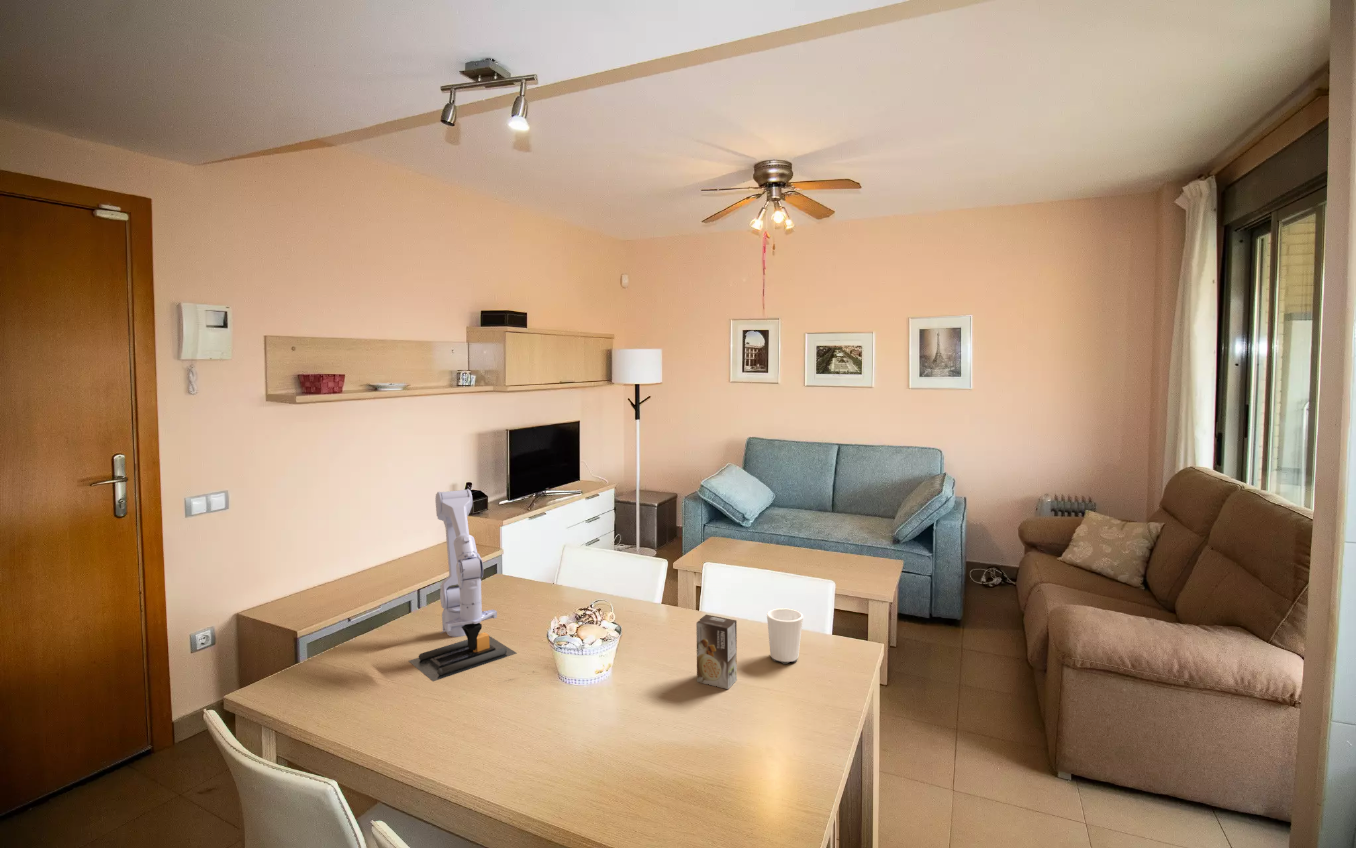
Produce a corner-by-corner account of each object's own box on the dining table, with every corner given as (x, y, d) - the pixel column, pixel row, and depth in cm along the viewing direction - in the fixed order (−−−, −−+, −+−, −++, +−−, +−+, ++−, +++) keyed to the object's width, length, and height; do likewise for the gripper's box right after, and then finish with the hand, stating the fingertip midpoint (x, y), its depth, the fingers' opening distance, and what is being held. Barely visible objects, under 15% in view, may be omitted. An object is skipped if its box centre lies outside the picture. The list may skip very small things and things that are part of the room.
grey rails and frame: (417, 659, 184) (417, 653, 184) (484, 639, 197) (484, 633, 197) (439, 677, 174) (438, 670, 174) (508, 654, 187) (508, 648, 187)
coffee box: (737, 679, 176) (738, 620, 174) (728, 690, 170) (728, 628, 169) (706, 672, 180) (706, 613, 178) (695, 682, 174) (695, 622, 173)
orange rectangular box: (473, 651, 189) (472, 635, 189) (484, 647, 192) (484, 632, 191) (477, 654, 187) (477, 638, 187) (489, 650, 189) (489, 635, 189)
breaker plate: (408, 666, 183) (408, 657, 183) (489, 641, 200) (489, 632, 200) (433, 687, 172) (432, 677, 172) (517, 658, 188) (517, 649, 188)
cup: (801, 652, 192) (801, 608, 191) (803, 667, 182) (804, 622, 181) (765, 650, 193) (766, 607, 192) (766, 666, 183) (767, 620, 182)
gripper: (451, 612, 178) (453, 661, 179) (501, 598, 188) (502, 645, 189) (440, 605, 183) (442, 653, 185) (489, 592, 193) (490, 638, 194)
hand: (472, 649), depth 187 cm, fingers closed
